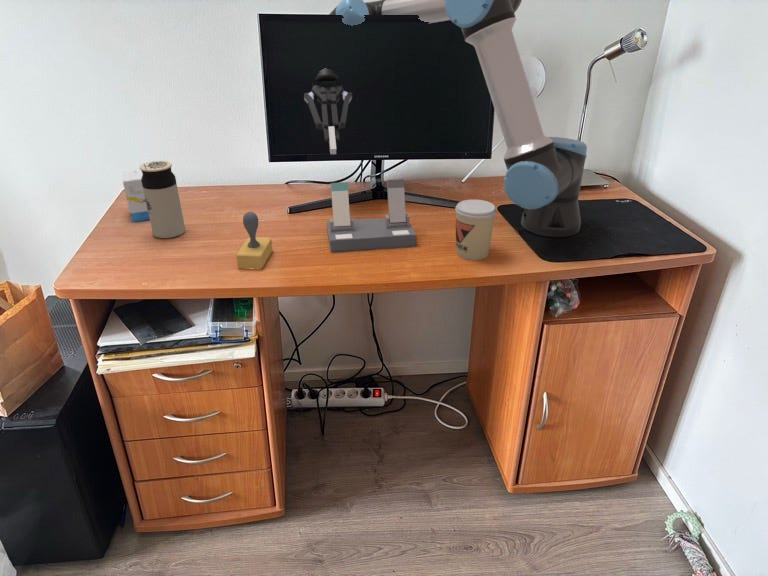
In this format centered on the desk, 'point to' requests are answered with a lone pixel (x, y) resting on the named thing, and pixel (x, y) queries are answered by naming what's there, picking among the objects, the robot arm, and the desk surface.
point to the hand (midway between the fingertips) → (333, 151)
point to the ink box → (135, 195)
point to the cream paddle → (340, 204)
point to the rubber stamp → (253, 245)
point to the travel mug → (162, 199)
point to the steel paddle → (396, 201)
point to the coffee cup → (474, 228)
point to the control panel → (370, 234)
